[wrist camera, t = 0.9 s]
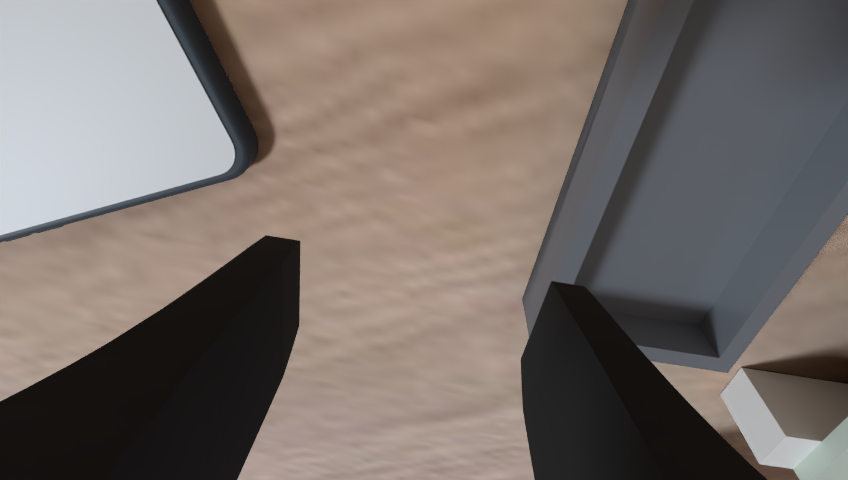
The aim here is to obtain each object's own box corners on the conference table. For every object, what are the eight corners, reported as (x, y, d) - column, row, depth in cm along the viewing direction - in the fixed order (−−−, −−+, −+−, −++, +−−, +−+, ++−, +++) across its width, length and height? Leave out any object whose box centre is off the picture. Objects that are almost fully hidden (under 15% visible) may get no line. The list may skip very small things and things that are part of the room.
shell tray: (699, 326, 21) (727, 372, 19) (522, 298, 21) (530, 342, 19) (936, -34, 13) (1029, -27, 11) (659, -87, 13) (700, -90, 11)
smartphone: (142, -115, 14) (-243, 45, 17) (109, -120, 13) (-302, 55, 15) (276, 158, 18) (-45, 246, 21) (263, 176, 17) (-78, 268, 20)
